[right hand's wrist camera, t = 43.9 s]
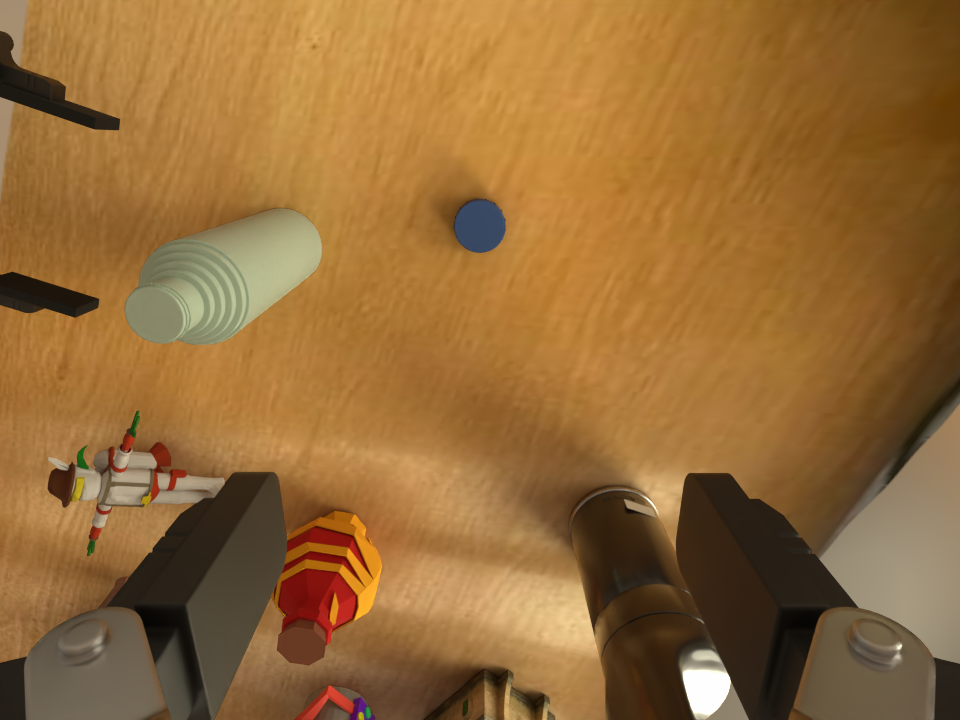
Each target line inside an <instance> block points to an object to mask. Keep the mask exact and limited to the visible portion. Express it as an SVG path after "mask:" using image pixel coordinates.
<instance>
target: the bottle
mask: <svg viewBox="0 0 960 720" xmlns="http://www.w3.org/2000/svg"><path fill="white" fill-rule="evenodd" d="M321 256H322V243H321V239H320V236H319V233H318V231H317V229H316V228H315V226H314V225H313V224H312V223H311V221H310V220H308V219H307V218H306V217H305V216H304V215H302V214H300V213H299V212H296V211H294V210H291V209H286V208H275V209H271V210H267V211H264V212H261V213H258V214H255V215H252V216H249V217H245V218H242V219H239V220H236V221H233V222H230V223H227V224H224V225H220V226H217V227H214V228H211V229H208V230H205V231H202V232H198V233H195V234H192V235H189V236H186V237H183V238H180V239H177V240H173V241H170V242H168V243H166V244H163V245H162V246H160V247H159V248H157V249H156V250H155V251H154V252H153V253H152V254H151V255H150V256H149V258H148V259H147V261H146V263H145V264H144V266H143V268H142V271H141V273H140V278H139V287H137V288H136V289H135V290H134V291H133V292H132V293H131V294H130V295H129V297H128V299H127V301H126V304H125V316H126V319H127V322H128V324H129V325H130V327H131V328H132V330H133V331H134V332H135V333H136V334H137V335H139V336H140V337H142V338H143V339H145V340H147V341H150V342H154V343H163V344H166V343H171V342H174V341H176V340H178V341H181V342H184V343H188V344H195V345H209V344H216V343H220V342H223V341H225V340H227V339H229V338H231V337H232V336H234V335H235V334H236V333H237V332H239V331H240V330H241V329H243V328H244V327H245V326H246V325H248V324H249V323H250V322H251V321H253V320H254V319H255V318H257V317H258V316H259V315H260V314H262V313H263V312H264V311H266V310H267V309H268V308H269V307H271V306H272V305H273V304H274V303H276V302H277V301H278V300H280V299H281V298H282V297H283V296H285V295H286V294H287V293H289V292H290V291H291V290H292V289H294V288H295V287H296V286H297V285H299V284H300V283H301V282H303V281H304V280H305V279H306V278H308V277H309V276H310V275H311V274H312V273H313V272H314V271H315V270H316V269H317V267H318V265H319V263H320V260H321Z"/></svg>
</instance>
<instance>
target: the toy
mask: <svg viewBox="0 0 960 720" xmlns="http://www.w3.org/2000/svg"><path fill="white" fill-rule="evenodd" d="M138 415H139V411H137V412H136V414H135V417H134V420H133V423H132V426H131V428H129V429H127V433H126V434H125V436H124V439H123V444H121V445H119V447H118V450H114V447H110V448H109V449H108V450H107V449H105V450H103V451H100V452H99V453H98V454H97V455H96V456H95V458H94V466H95V467H96V468H95V469H94V468H92V467H88V466H87V464H86V462H85V460H84V458H83V452H84V450H85V448H86V447H87V446H85V447H84V448H82V449H81V450H80V451H79V452H78V455H77V463H78V465H74V464H73V462H71V464H70V465H67V464H66V463H64V462H62V461H60V460H58V459H56V458H52V457H48V458H47V459H48V460H49V461H50V462H51V463H53V464H54V465H55V466H56V467H57V468H56V469H54V470H52V472H51V474H50V477H49V482H48V490H49V492H50V493H51V494H53V495H54V496H56V497H57V498H59V499H60V500H61V501H62V505H63V507H65V508H66V507H67V506H68V505H69V503H70V501H72V502H76V501H78V500H80V501H87V500H93V499H95V498H97V501H98V504H97V507H96V512H95V517H94V518H93V520H92V524H93V526H92V528H91V531H90V535H89V539H90V542H89V545H88V547H87V550H88V553H87V556H90V554H91V553H93V552H94V547H95V541H96V540H97V539H98V536H99V534H100V532H101V528H102V527H104V525H105V524H106V519H107V517H108V515H109V513H110V512H111V509H112V506H131V507H146V505H147V504H149V503H150V504H181V503H197V502H199V501H200V500H202V499H203V498H214V497H215V496H216V495H217V493H218V492H219V491H220V489H221V488H222V487H223V485H224V484H225V480H224V478H223V477H218V478H211V477H199V476H190V475H187V474H186V471H184V470H175V469H172V470H171V471H170V472H169V473H164V472H163V471H162V470H161V468H160V467H159V466H171V457H170V455H169V452H168V450H167V448H166V447H165V446H164V445H163V444H162V443H158V442H156V444H155V445H154V446H153V447H152V448H151V449H150V451H149V452H148V453H145V452H133V451H132V447H131V445H132V444H133V442H134V439H135V437H136V427H137V425H138V422H139V419H140V416H138ZM189 489H204V490H208V491H197V490H189Z"/></svg>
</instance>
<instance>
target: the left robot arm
mask: <svg viewBox="0 0 960 720" xmlns="http://www.w3.org/2000/svg"><path fill="white" fill-rule="evenodd" d="M13 46H14V43H13V40H12V38H11V36H10V35H8V34H7V33H5V32H2V31H0V97H2V98H5V99H8V100H11V101H13V102H16V103H19V104H22V105H25V106H28V107H31V108H34V109H37V110H40V111H43V112H45V113H48V114H51V115H54V116H57V117H60V118H63V119H66V120H69V121H72V122H75V123H78V124H80V125H83V126H86V127H89V128H92V129H97V130H119V125H120V119H118V118H115V117H112V116H110V115H107V114H104V113H101V112H98V111H95V110H92V109H89V108H86V107H84V106H81V105H78V104H75V103H72V102H69V101H66V100H65V90H66V87H65V86H64V85H63V84H62V83H60V82H59V81H57V80H54V79H51V78H48V77H45V76H42V75H40V74H37V73H34V72H31V71H28V70H25V69H23V68H21V67H19V66H18V65H17V64H16V63H15V62H14V60H13V58H12V55H11V50H12V49H13ZM0 305H2V306H5V307H8V308H12V309H15V310H19V311H22V312H25V313H34V312H37V311H39V310H42V309H44V308H46V309H49V310H52V311H56V312H59V313H62V314H65V315H68V316H72V317H75V318H76V317H78V316H80V315H83V314H85V313H87V312H90V311H92V310H94V309H97V308H98V305H99V299H98V298H95V297H91V296H88V295H85V294H82V293H79V292H75V291H72V290H69V289H66V288H63V287H59V286H56V285H53V284H50V283H47V282H43V281H40V280H37V279H34V278H31V277H27V276H24V275H21V274H18V273H15V272H10V273H7V274H3V275H0Z"/></svg>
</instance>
